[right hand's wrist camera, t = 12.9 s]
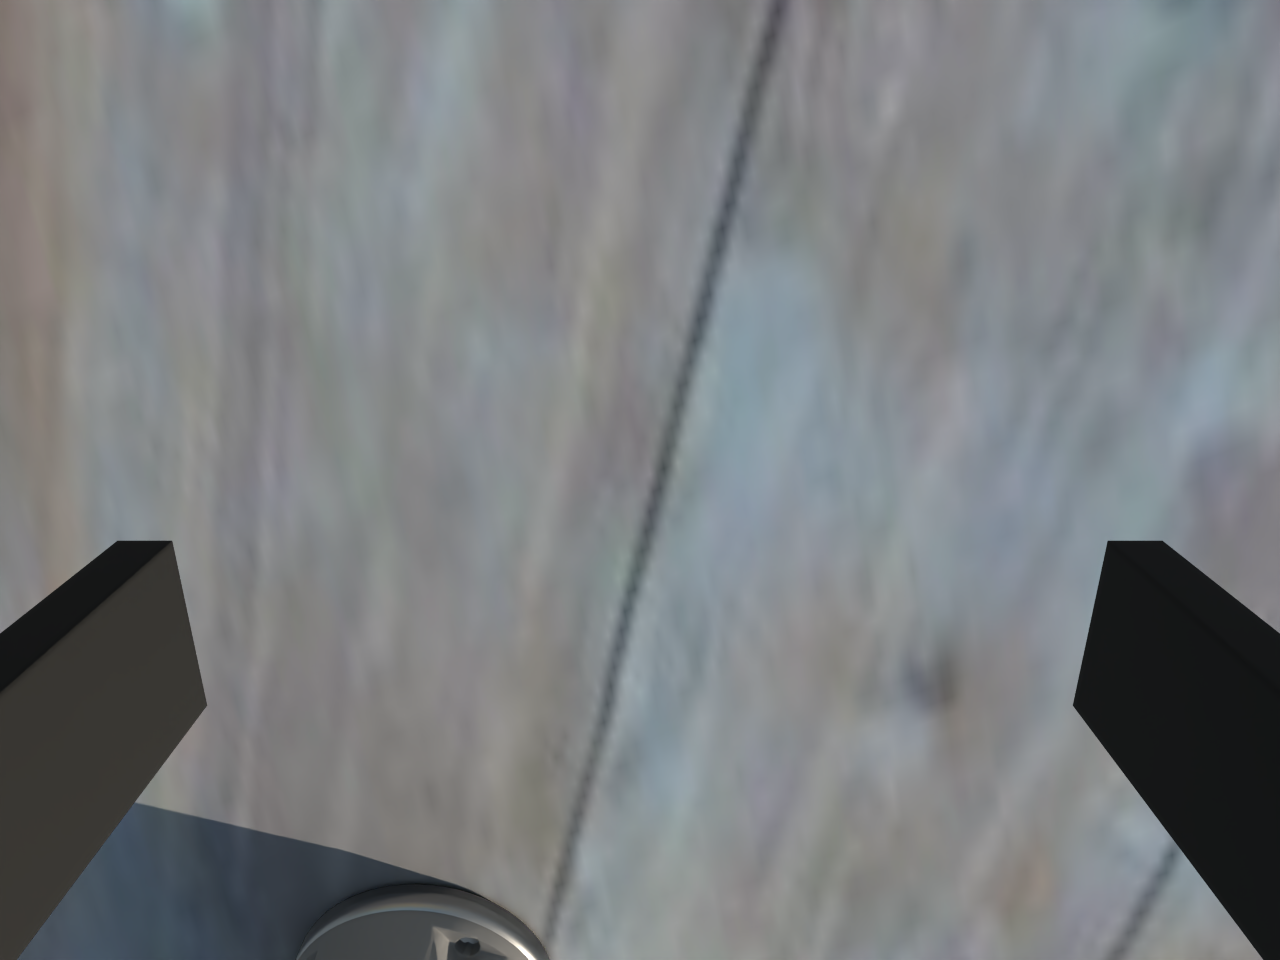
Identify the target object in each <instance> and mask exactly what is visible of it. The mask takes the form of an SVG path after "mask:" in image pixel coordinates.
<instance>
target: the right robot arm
mask: <svg viewBox="0 0 1280 960" xmlns="http://www.w3.org/2000/svg"><path fill="white" fill-rule="evenodd" d="M206 706H207V703H206V698H205V693H204V689H203V684H202V679H201V674H200V670H199V665H198V660H197V656H196V651H195V646H194V641H193V637H192V632H191V627H190V623H189V618H188V613H187V608H186V604H185V599H184V594H183V590H182V585H181V580H180V575H179V571H178V566H177V561H176V557H175V552H174V547H173V542H172V541H117V542H115V543H114V544H113V545H112V546H110V547H109V548H108V549H107V550H105V551H104V552H103V553H102V554H100V555H99V556H98V557H96V558H95V559H94V560H93V561H91V562H90V563H89V564H88V565H86V566H85V567H84V568H83V569H81V570H80V571H79V572H78V573H76V574H75V575H74V576H72V577H71V578H70V579H69V580H67V581H66V582H65V583H64V584H62V585H61V586H60V587H59V588H57V589H56V590H55V591H54V592H52V593H51V594H50V595H48V596H47V597H46V598H45V599H43V600H42V601H41V602H40V603H38V604H37V605H36V606H35V607H33V608H32V609H31V610H29V611H28V612H27V613H26V614H24V615H23V616H22V617H21V618H19V619H18V620H17V621H16V622H14V623H13V624H12V625H11V626H9V627H8V628H7V629H5V630H4V631H3V632H2V633H0V960H17V959H18V957H19V956H20V955H21V953H22V952H23V951H24V949H25V948H26V947H27V945H28V944H29V943H30V941H31V940H32V939H33V937H34V936H35V935H36V933H37V932H38V931H39V929H40V928H41V926H42V925H43V924H44V922H45V921H46V920H47V918H48V917H49V916H50V914H51V913H52V912H53V910H54V909H55V908H56V906H57V905H58V904H59V902H60V901H61V900H62V898H63V897H64V896H65V894H66V893H67V892H68V890H69V889H70V888H71V886H72V885H73V884H74V882H75V881H76V880H77V878H78V877H79V876H80V874H81V873H82V872H83V870H84V869H85V868H86V866H87V865H88V864H89V862H90V861H91V860H92V858H93V857H94V856H95V854H96V853H97V852H98V850H99V849H100V848H101V846H102V845H103V844H104V842H105V841H106V840H107V838H108V837H109V836H110V834H111V833H112V832H113V830H114V829H115V828H116V826H117V825H118V824H119V822H120V821H121V820H122V818H123V817H124V816H125V814H126V813H127V812H128V810H129V809H130V808H131V806H132V805H133V804H134V802H135V801H136V800H137V798H138V797H139V796H140V794H141V793H142V792H143V790H144V789H145V788H146V786H147V785H148V784H149V782H150V781H151V780H152V778H153V777H154V776H155V774H156V773H157V772H158V770H159V769H160V768H161V766H162V765H163V764H164V762H165V761H166V760H167V758H168V757H169V756H170V754H171V753H172V752H173V750H174V749H175V748H176V746H177V745H178V744H179V742H180V741H181V740H182V738H183V737H184V736H185V734H186V733H187V732H188V730H189V729H190V728H191V726H192V725H193V724H194V722H195V721H196V720H197V718H198V717H199V716H200V714H201V713H202V712H203V710H204V709H205V708H206ZM1073 706H1074V708H1075V709H1076V710H1077V712H1078V713H1079V714H1080V716H1081V717H1082V718H1083V720H1084V721H1085V722H1086V724H1087V725H1088V726H1089V728H1090V729H1091V730H1092V732H1093V733H1094V734H1095V736H1096V737H1097V738H1098V740H1099V741H1100V742H1101V744H1102V745H1103V746H1104V748H1105V749H1106V750H1107V752H1108V753H1109V754H1110V756H1111V757H1112V758H1113V760H1114V761H1115V762H1116V764H1117V765H1118V766H1119V768H1120V769H1121V770H1122V772H1123V773H1124V774H1125V776H1126V777H1127V778H1128V780H1129V781H1130V782H1131V784H1132V785H1133V786H1134V788H1135V789H1136V790H1137V792H1138V793H1139V794H1140V796H1141V797H1142V798H1143V800H1144V801H1145V802H1146V804H1147V805H1148V806H1149V808H1150V809H1151V810H1152V812H1153V813H1154V814H1155V816H1156V817H1157V818H1158V820H1159V821H1160V822H1161V824H1162V825H1163V826H1164V828H1165V829H1166V830H1167V832H1168V833H1169V834H1170V836H1171V837H1172V838H1173V840H1174V841H1175V842H1176V844H1177V845H1178V846H1179V848H1180V849H1181V850H1182V852H1183V853H1184V854H1185V856H1186V857H1187V858H1188V860H1189V861H1190V862H1191V864H1192V865H1193V866H1194V868H1195V869H1196V870H1197V872H1198V873H1199V874H1200V876H1201V877H1202V878H1203V880H1204V881H1205V882H1206V884H1207V885H1208V886H1209V888H1210V889H1211V890H1212V892H1213V893H1214V894H1215V896H1216V897H1217V898H1218V900H1219V901H1220V902H1221V904H1222V905H1223V906H1224V908H1225V909H1226V910H1227V912H1228V913H1229V914H1230V916H1231V917H1232V918H1233V920H1234V921H1235V922H1236V924H1237V925H1238V926H1239V928H1240V929H1241V931H1242V932H1243V933H1244V935H1245V936H1246V937H1247V939H1248V940H1249V941H1250V943H1251V944H1252V945H1253V947H1254V948H1255V949H1256V951H1257V952H1258V953H1259V955H1260V956H1261V957H1262V959H1263V960H1280V633H1278V632H1277V631H1276V630H1275V629H1273V628H1272V627H1271V626H1269V625H1268V624H1267V623H1266V622H1264V621H1263V620H1262V619H1261V618H1259V617H1258V616H1257V615H1256V614H1254V613H1253V612H1252V611H1251V610H1249V609H1248V608H1247V607H1245V606H1244V605H1243V604H1242V603H1240V602H1239V601H1238V600H1237V599H1235V598H1234V597H1233V596H1232V595H1230V594H1229V593H1228V592H1226V591H1225V590H1224V589H1223V588H1221V587H1220V586H1219V585H1218V584H1216V583H1215V582H1214V581H1213V580H1211V579H1210V578H1209V577H1208V576H1206V575H1205V574H1204V573H1202V572H1201V571H1200V570H1199V569H1197V568H1196V567H1195V566H1194V565H1192V564H1191V563H1190V562H1189V561H1187V560H1186V559H1185V558H1184V557H1182V556H1181V555H1180V554H1178V553H1177V552H1176V551H1175V550H1173V549H1172V548H1171V547H1170V546H1168V545H1167V544H1166V543H1165V542H1163V541H1108V542H1107V547H1106V552H1105V557H1104V561H1103V566H1102V571H1101V575H1100V580H1099V585H1098V590H1097V594H1096V599H1095V604H1094V608H1093V613H1092V618H1091V623H1090V627H1089V632H1088V637H1087V641H1086V646H1085V651H1084V656H1083V660H1082V665H1081V670H1080V674H1079V679H1078V684H1077V689H1076V693H1075V698H1074V703H1073ZM296 960H550V959H549V957H548V955H547V953H546V951H545V949H544V947H543V946H542V944H541V943H540V941H539V940H538V938H537V937H536V936H535V935H534V933H533V932H532V931H531V930H530V929H529V928H528V927H527V926H526V925H525V924H524V923H523V922H522V921H520V920H519V919H518V918H517V917H516V916H514V915H513V914H511V913H510V912H508V911H507V910H505V909H504V908H502V907H500V906H498V905H497V904H495V903H493V902H491V901H489V900H486V899H484V898H482V897H479V896H477V895H474V894H471V893H468V892H465V891H461V890H457V889H453V888H448V887H442V886H435V885H421V884H408V885H395V886H388V887H382V888H377V889H374V890H370V891H366V892H363V893H361V894H358V895H355V896H353V897H351V898H348V899H346V900H344V901H343V902H341V903H339V904H337V905H336V906H334V907H333V908H332V909H330V910H329V911H327V912H326V913H325V914H324V915H323V916H322V917H321V918H319V919H318V921H317V922H316V923H315V924H314V925H313V926H312V928H311V929H310V931H309V932H308V934H307V935H306V937H305V939H304V941H303V943H302V945H301V948H300V950H299V953H298V955H297V958H296Z"/></svg>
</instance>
